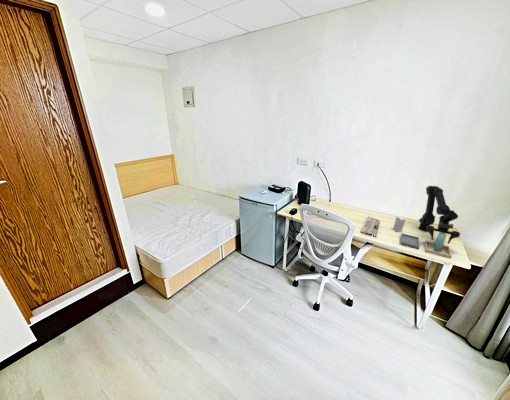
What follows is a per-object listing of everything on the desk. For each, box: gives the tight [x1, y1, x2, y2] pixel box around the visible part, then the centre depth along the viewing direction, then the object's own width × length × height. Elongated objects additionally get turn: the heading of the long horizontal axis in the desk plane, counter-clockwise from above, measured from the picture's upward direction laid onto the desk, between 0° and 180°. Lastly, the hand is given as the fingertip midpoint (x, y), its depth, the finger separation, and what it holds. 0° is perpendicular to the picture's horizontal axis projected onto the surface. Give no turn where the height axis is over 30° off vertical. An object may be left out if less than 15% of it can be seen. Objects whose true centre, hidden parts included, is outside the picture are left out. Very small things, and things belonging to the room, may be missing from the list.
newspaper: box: [360, 215, 381, 238], centre depth 195 cm, size 35×12×4 cm, turn 147°
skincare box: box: [393, 216, 406, 233], centre depth 188 cm, size 6×4×12 cm
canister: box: [432, 232, 448, 253], centre depth 159 cm, size 4×4×14 cm
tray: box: [399, 232, 420, 250], centre depth 171 cm, size 16×12×2 cm
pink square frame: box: [424, 240, 453, 259], centre depth 161 cm, size 15×15×2 cm
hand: (440, 241), depth 158 cm, fingers open, 9 cm apart
